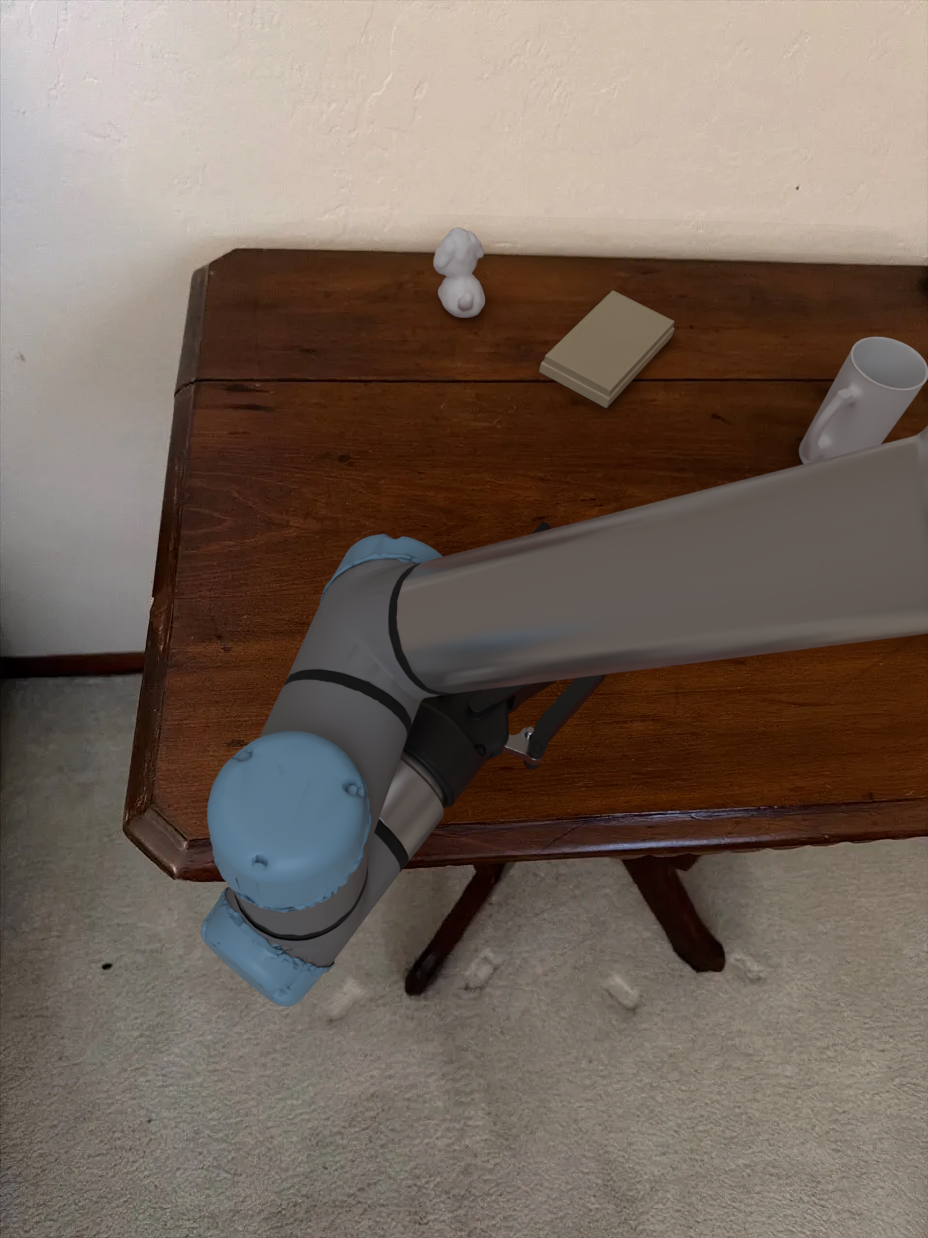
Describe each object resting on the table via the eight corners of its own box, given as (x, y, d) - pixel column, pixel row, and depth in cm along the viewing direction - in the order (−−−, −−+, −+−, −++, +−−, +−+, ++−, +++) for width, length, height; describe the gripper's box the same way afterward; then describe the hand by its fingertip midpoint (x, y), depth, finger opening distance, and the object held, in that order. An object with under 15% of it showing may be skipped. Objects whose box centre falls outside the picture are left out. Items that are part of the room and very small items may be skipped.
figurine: (464, 278, 96) (471, 210, 90) (499, 322, 93) (509, 255, 86) (420, 289, 95) (424, 221, 88) (454, 335, 91) (461, 267, 84)
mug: (828, 424, 89) (886, 327, 79) (878, 468, 86) (945, 373, 76) (757, 461, 85) (808, 363, 75) (807, 507, 82) (867, 413, 72)
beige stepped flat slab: (671, 337, 94) (677, 320, 92) (606, 408, 87) (611, 392, 85) (607, 304, 96) (612, 288, 94) (538, 371, 89) (542, 355, 87)
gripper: (295, 719, 64) (476, 525, 75) (517, 880, 59) (676, 646, 70) (286, 668, 57) (486, 464, 69) (534, 843, 52) (706, 593, 64)
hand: (581, 557), depth 69 cm, fingers open, 6 cm apart
